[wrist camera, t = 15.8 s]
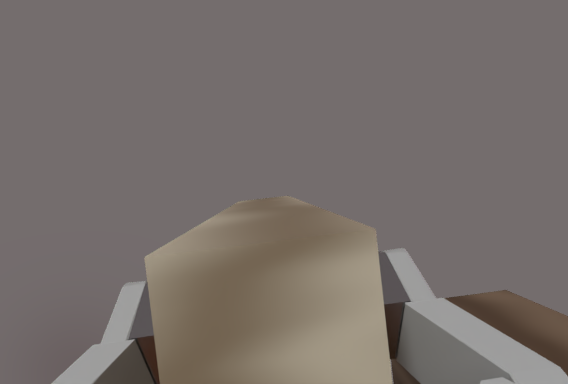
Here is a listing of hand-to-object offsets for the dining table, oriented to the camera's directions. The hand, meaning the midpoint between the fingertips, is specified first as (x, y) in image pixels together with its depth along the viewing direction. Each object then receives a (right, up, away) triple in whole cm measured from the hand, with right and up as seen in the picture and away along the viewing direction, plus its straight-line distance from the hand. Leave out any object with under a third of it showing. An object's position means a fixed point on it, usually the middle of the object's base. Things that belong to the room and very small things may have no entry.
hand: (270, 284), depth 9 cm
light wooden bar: (0, -2, +7) cm, 7 cm away
